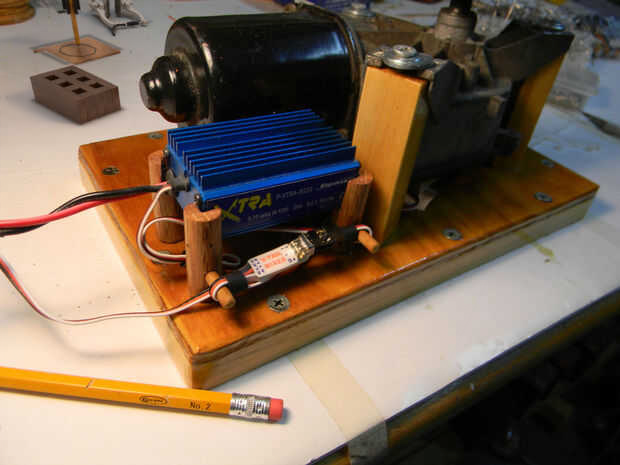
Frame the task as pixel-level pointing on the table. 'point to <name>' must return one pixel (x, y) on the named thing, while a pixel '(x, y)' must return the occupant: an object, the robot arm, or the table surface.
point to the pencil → (74, 22)
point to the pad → (80, 50)
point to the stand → (76, 94)
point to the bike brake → (104, 9)
